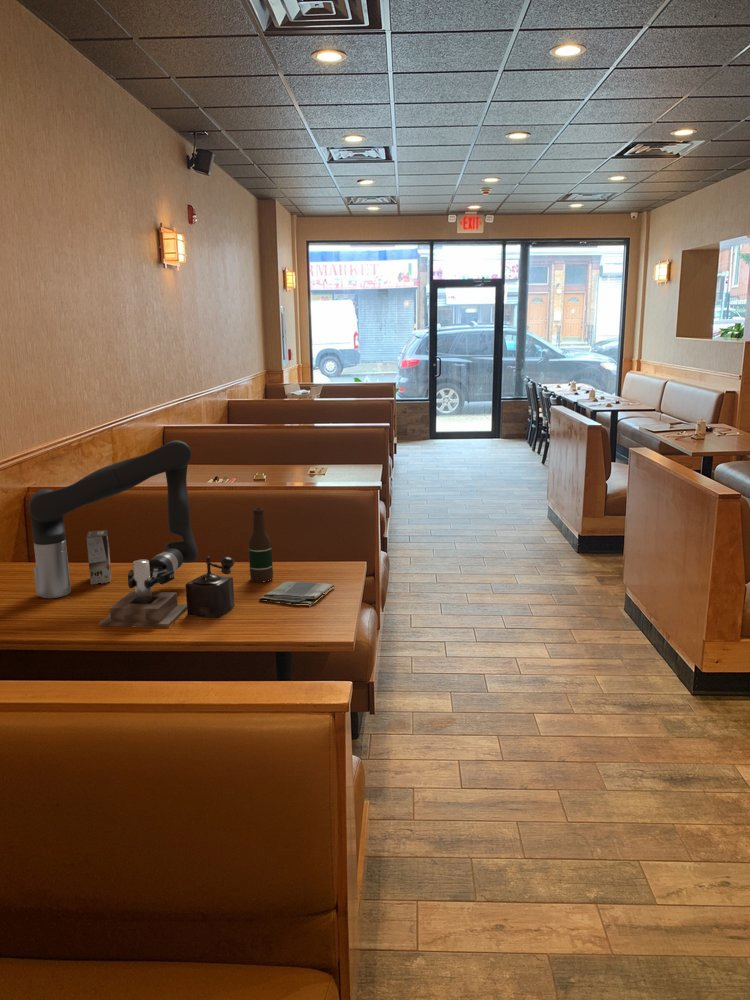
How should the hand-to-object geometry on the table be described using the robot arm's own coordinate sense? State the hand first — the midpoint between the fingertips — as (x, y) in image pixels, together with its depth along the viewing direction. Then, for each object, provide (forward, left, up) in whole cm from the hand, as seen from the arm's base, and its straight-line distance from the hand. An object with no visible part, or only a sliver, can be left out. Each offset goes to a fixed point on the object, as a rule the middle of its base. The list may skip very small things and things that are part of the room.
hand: (138, 584), depth 213 cm
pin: (0, +3, -8) cm, 8 cm away
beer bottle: (+25, +39, -11) cm, 47 cm away
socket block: (0, +3, -10) cm, 11 cm away
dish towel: (+40, +24, -11) cm, 48 cm away
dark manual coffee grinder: (+20, +8, -11) cm, 24 cm away
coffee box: (-29, +36, -11) cm, 47 cm away
